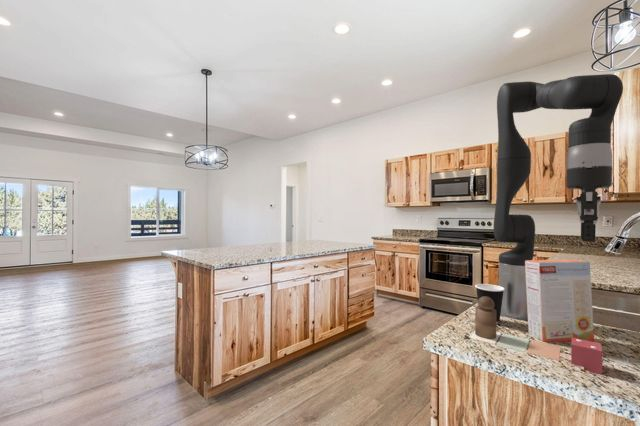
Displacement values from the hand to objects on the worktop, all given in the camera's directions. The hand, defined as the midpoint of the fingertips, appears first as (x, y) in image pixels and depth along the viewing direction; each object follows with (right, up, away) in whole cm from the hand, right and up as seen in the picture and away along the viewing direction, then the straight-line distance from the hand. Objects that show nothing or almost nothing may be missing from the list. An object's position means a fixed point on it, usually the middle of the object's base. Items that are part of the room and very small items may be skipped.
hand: (587, 239), depth 66 cm
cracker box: (+5, -28, +14) cm, 32 cm away
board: (-9, -28, +11) cm, 31 cm away
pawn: (-14, -27, +15) cm, 34 cm away
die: (0, -28, 0) cm, 28 cm away
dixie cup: (-7, -28, +26) cm, 39 cm away
